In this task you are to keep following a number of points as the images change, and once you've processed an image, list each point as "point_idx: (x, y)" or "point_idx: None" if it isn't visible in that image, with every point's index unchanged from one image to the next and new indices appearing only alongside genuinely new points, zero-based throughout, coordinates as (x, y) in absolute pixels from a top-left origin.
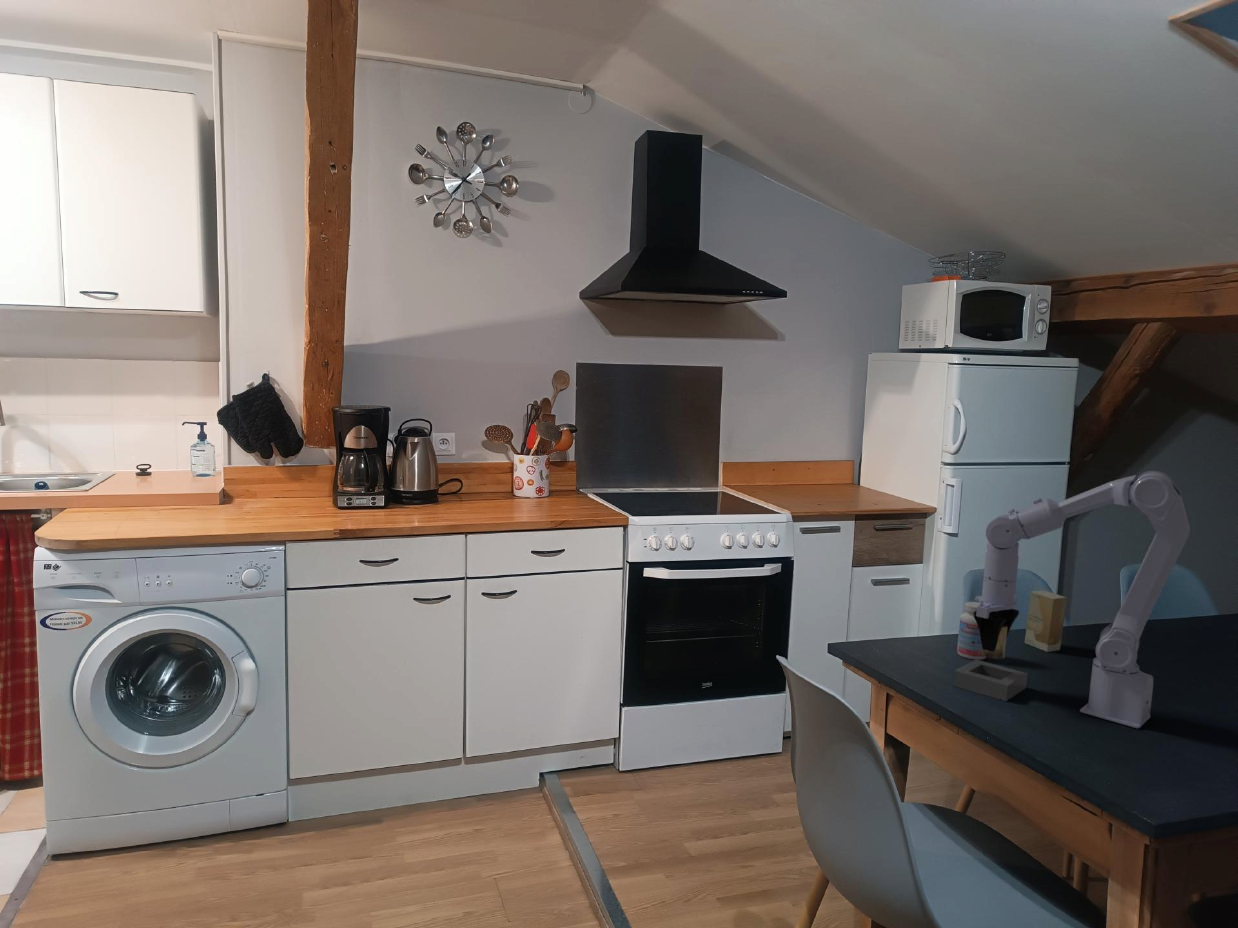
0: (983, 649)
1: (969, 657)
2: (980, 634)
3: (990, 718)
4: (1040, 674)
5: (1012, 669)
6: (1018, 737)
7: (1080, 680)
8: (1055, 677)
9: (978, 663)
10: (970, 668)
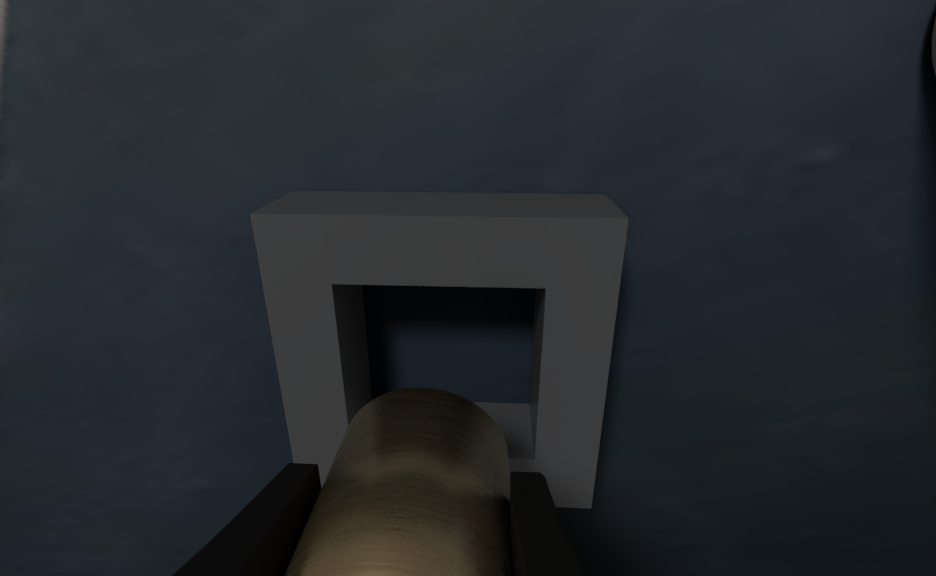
0: (346, 442)
1: (933, 37)
2: (177, 573)
3: (88, 453)
4: (867, 436)
5: (597, 442)
6: (39, 555)
7: (889, 564)
8: (862, 491)
9: (548, 266)
10: (391, 271)
